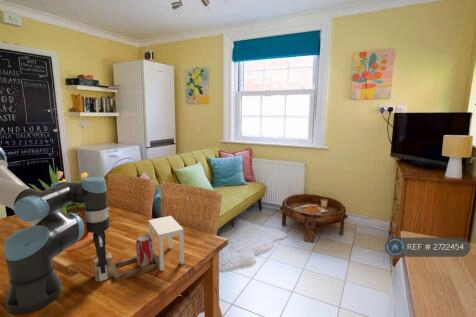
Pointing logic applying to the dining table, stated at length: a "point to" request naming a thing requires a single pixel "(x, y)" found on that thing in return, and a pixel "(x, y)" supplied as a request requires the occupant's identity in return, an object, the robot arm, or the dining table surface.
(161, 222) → the white stool
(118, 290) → the dining table surface
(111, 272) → the pull frame
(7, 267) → the robot arm
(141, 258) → the beverage can
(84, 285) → the dining table surface
